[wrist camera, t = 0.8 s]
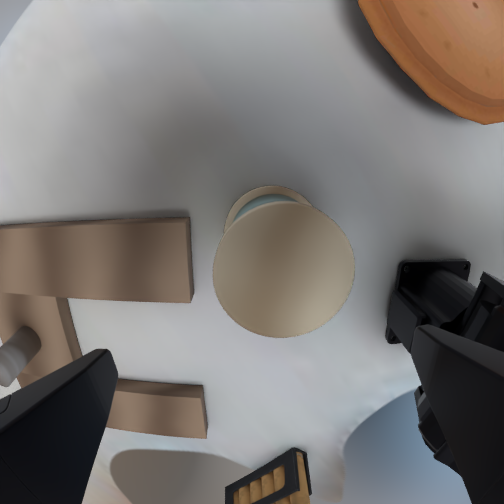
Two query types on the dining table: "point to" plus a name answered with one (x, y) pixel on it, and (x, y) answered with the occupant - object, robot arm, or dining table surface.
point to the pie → (447, 50)
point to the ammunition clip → (274, 482)
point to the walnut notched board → (98, 288)
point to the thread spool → (281, 264)
